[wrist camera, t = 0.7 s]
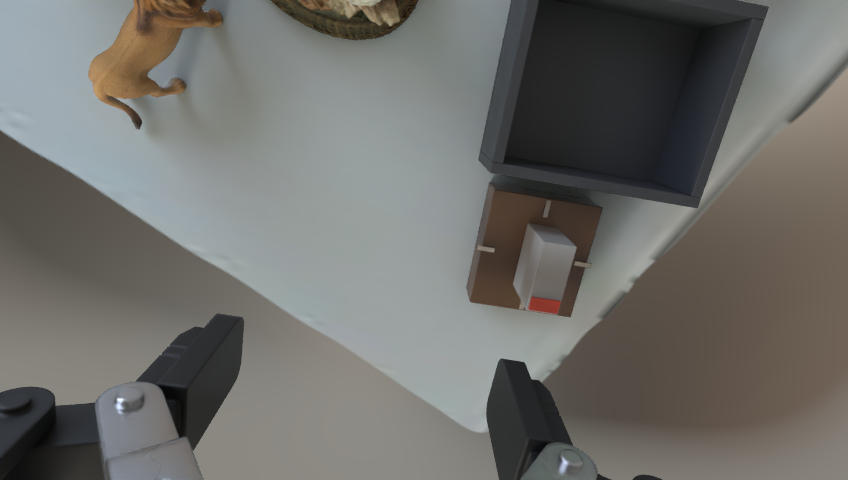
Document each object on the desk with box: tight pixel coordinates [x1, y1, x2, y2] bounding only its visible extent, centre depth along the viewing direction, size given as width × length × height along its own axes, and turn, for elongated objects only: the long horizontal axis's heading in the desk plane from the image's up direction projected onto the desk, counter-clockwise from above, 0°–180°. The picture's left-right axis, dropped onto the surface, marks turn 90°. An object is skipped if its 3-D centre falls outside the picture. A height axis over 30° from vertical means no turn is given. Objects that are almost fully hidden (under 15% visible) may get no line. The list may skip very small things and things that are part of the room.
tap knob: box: [513, 223, 577, 315], centre depth 37 cm, size 6×2×5 cm, turn 170°
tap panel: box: [467, 183, 602, 317], centre depth 41 cm, size 10×10×3 cm
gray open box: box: [479, 0, 769, 208], centre depth 35 cm, size 14×16×7 cm
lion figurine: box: [88, 0, 223, 130], centre depth 32 cm, size 15×5×9 cm, turn 150°
